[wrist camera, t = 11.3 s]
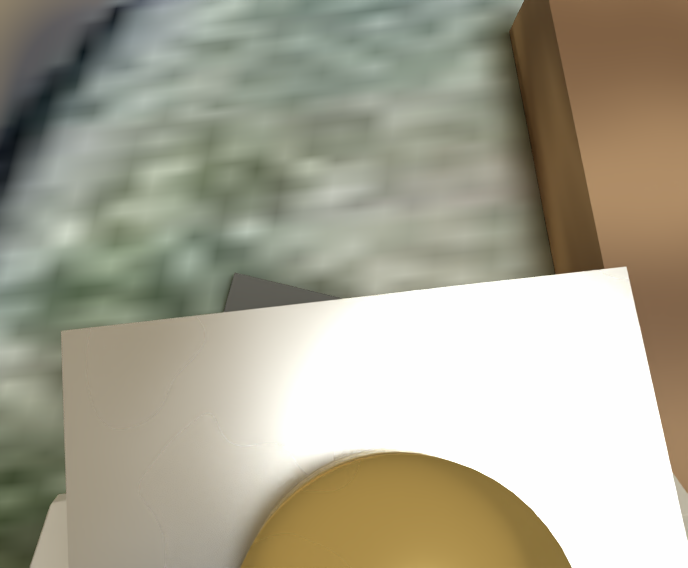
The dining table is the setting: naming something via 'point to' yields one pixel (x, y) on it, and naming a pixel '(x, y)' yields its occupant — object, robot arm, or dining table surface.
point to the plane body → (617, 164)
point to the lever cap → (374, 434)
